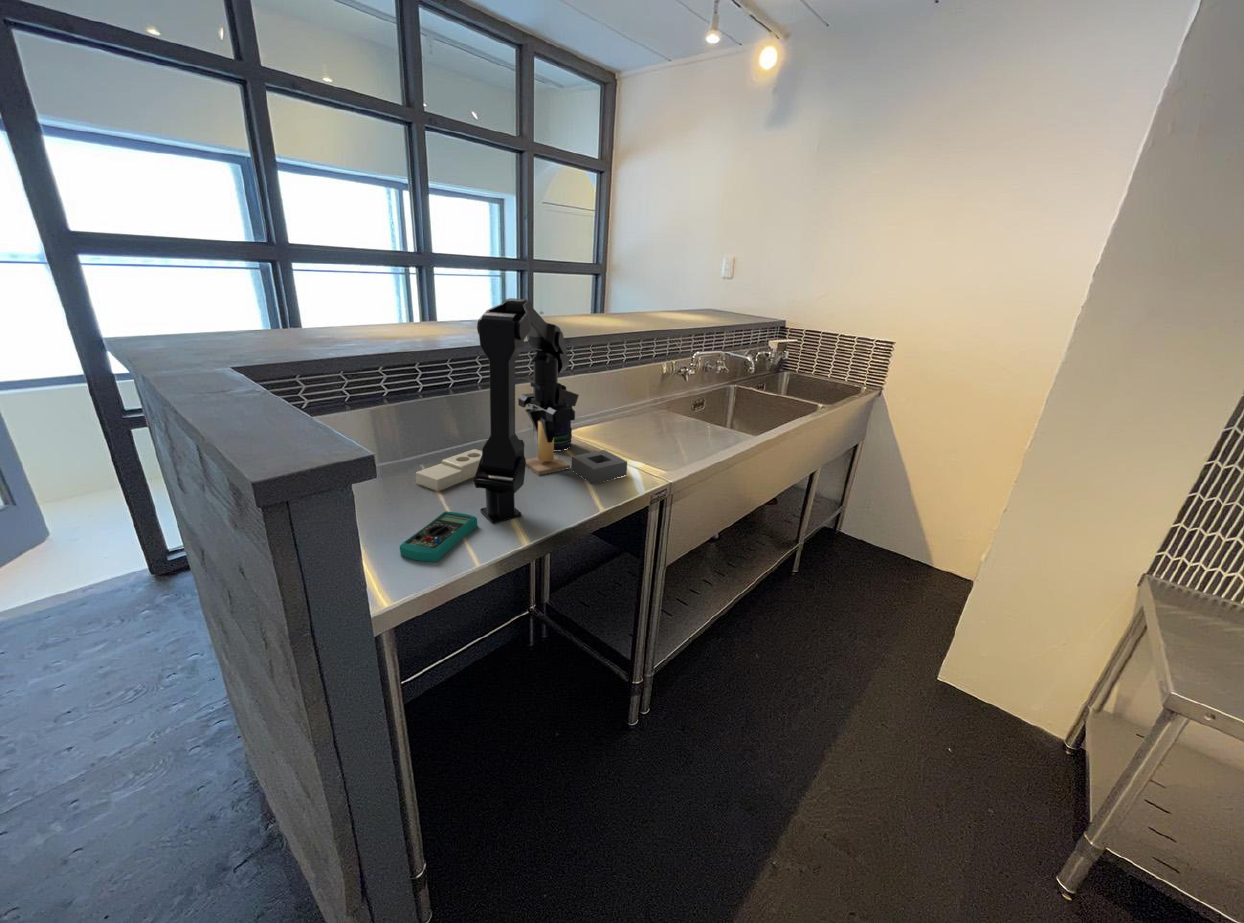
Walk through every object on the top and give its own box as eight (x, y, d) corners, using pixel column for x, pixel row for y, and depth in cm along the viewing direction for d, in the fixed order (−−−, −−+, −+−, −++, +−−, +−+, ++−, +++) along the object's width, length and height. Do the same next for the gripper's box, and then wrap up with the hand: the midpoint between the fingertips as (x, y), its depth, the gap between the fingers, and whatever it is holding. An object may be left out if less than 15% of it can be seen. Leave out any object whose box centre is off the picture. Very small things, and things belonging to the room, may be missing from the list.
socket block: (626, 476, 126) (627, 461, 125) (593, 484, 121) (593, 469, 119) (603, 464, 134) (604, 449, 132) (571, 471, 128) (571, 456, 127)
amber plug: (556, 459, 129) (556, 422, 126) (542, 462, 127) (542, 424, 123) (549, 454, 132) (549, 418, 128) (535, 457, 130) (534, 420, 126)
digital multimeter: (397, 559, 87) (395, 544, 86) (445, 521, 101) (444, 508, 100) (435, 566, 86) (433, 551, 85) (479, 527, 99) (478, 514, 98)
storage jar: (549, 454, 139) (550, 401, 134) (530, 444, 146) (529, 393, 140) (578, 447, 145) (579, 396, 140) (558, 438, 152) (558, 389, 147)
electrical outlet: (415, 468, 115) (474, 448, 129) (416, 484, 116) (475, 463, 131) (436, 476, 111) (495, 454, 126) (438, 492, 113) (495, 469, 127)
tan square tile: (569, 468, 129) (570, 465, 129) (538, 475, 124) (538, 471, 124) (552, 458, 136) (552, 454, 136) (522, 463, 131) (522, 460, 130)
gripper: (594, 383, 120) (592, 445, 125) (555, 369, 134) (555, 426, 139) (553, 387, 113) (553, 452, 119) (516, 372, 127) (518, 431, 133)
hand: (545, 440), depth 128 cm, fingers closed on amber plug, 4 cm apart
